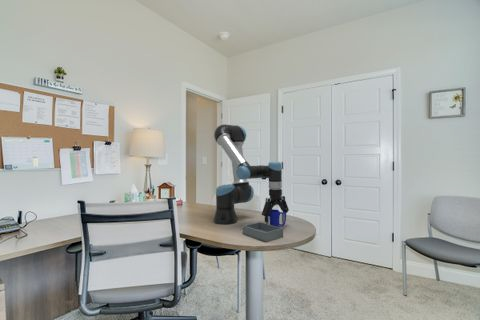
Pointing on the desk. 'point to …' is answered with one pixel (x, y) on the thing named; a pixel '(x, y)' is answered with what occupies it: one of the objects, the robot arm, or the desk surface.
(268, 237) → the tray
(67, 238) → the desk surface
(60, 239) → the desk surface
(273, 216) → the mug
